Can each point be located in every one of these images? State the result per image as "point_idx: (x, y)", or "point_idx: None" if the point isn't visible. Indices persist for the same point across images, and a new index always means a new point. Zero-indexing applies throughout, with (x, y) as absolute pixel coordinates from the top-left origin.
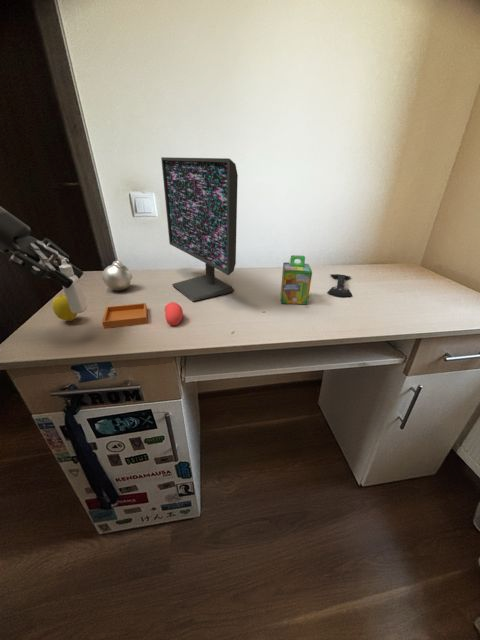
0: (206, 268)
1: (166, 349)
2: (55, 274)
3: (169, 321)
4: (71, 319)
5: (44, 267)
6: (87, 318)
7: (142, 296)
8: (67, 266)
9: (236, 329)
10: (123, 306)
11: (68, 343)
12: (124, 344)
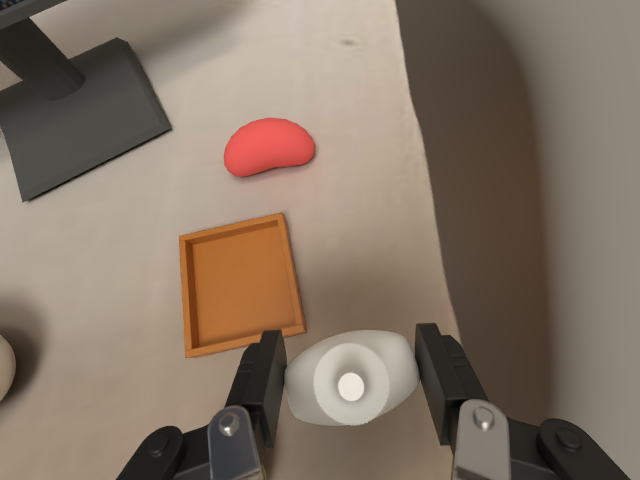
0: (18, 57)
1: (420, 153)
2: (484, 395)
3: (313, 151)
4: None
5: (581, 445)
6: None
7: (86, 278)
8: (370, 356)
9: (333, 37)
10: (190, 300)
11: (394, 410)
12: (399, 249)
